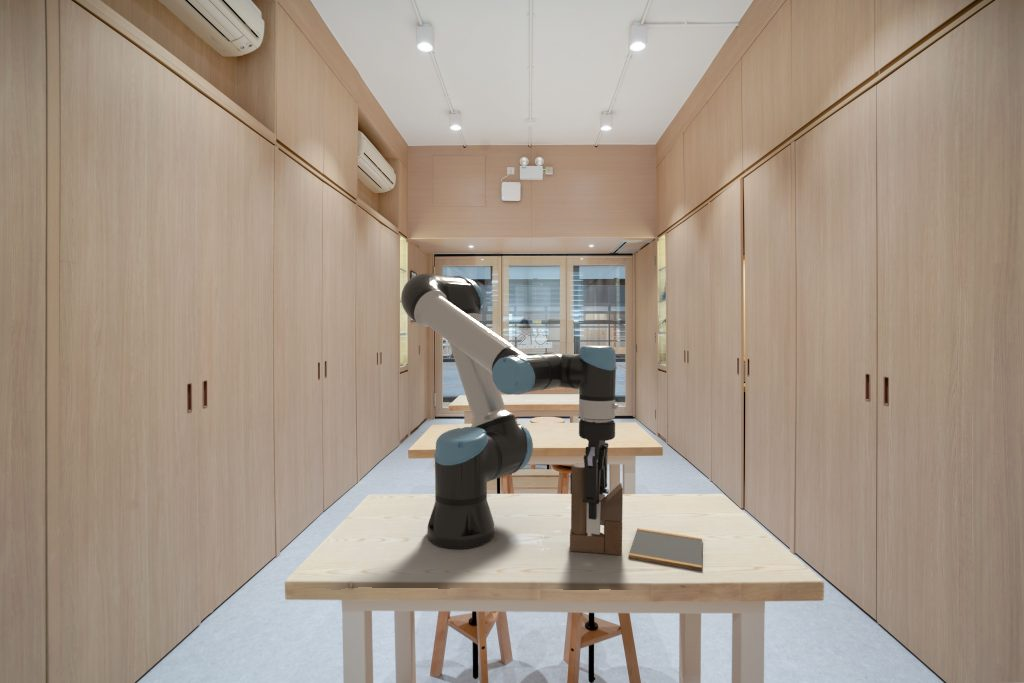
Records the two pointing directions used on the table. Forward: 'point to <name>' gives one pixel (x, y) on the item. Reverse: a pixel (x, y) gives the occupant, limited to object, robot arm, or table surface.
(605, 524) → the wooden block assembly
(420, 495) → the table surface
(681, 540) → the mat
